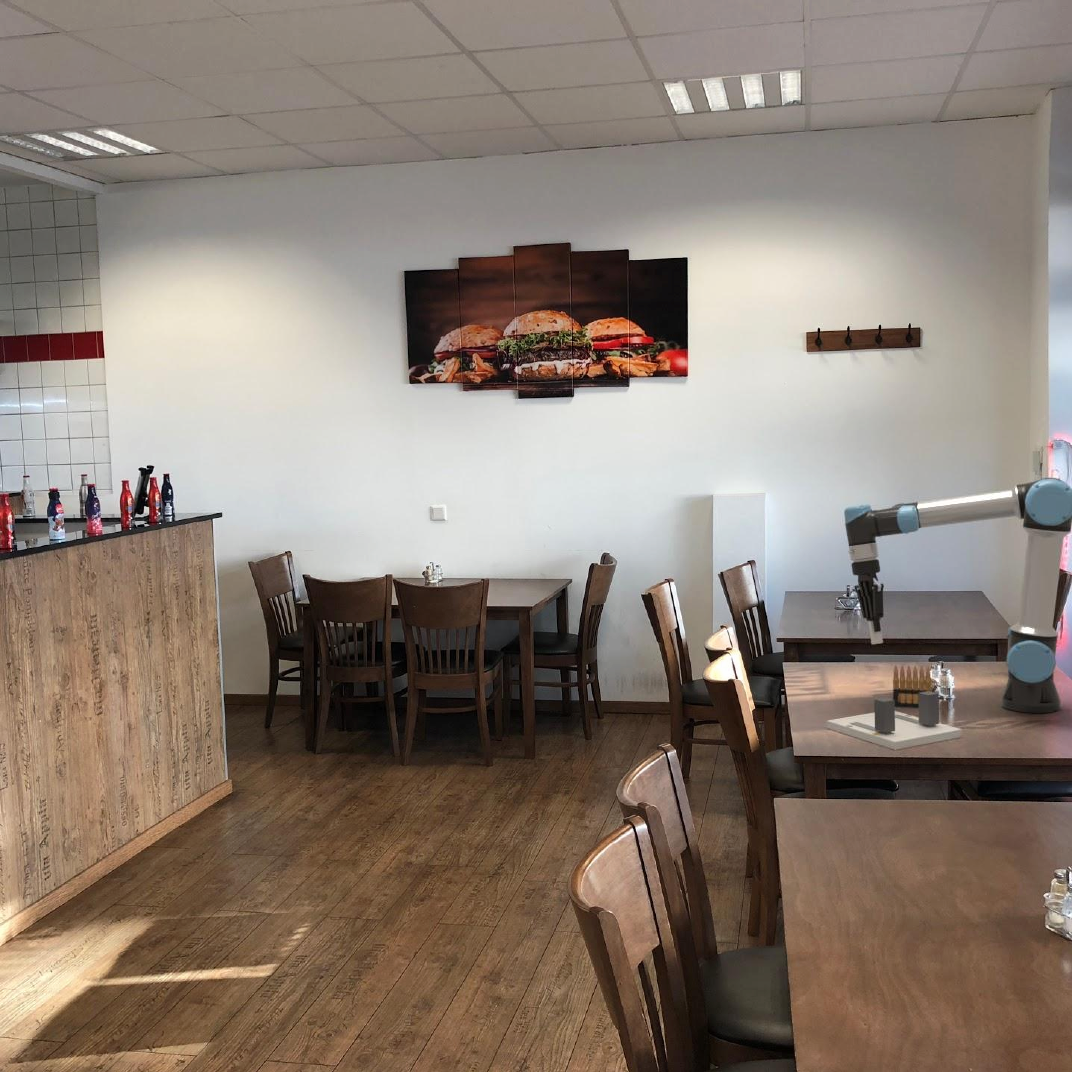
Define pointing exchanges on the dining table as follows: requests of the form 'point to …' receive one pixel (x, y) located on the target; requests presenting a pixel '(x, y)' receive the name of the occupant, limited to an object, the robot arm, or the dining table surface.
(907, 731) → the switch panel
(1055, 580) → the robot arm
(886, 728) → the block
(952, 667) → the dining table surface
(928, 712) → the block
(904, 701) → the ammunition clip
